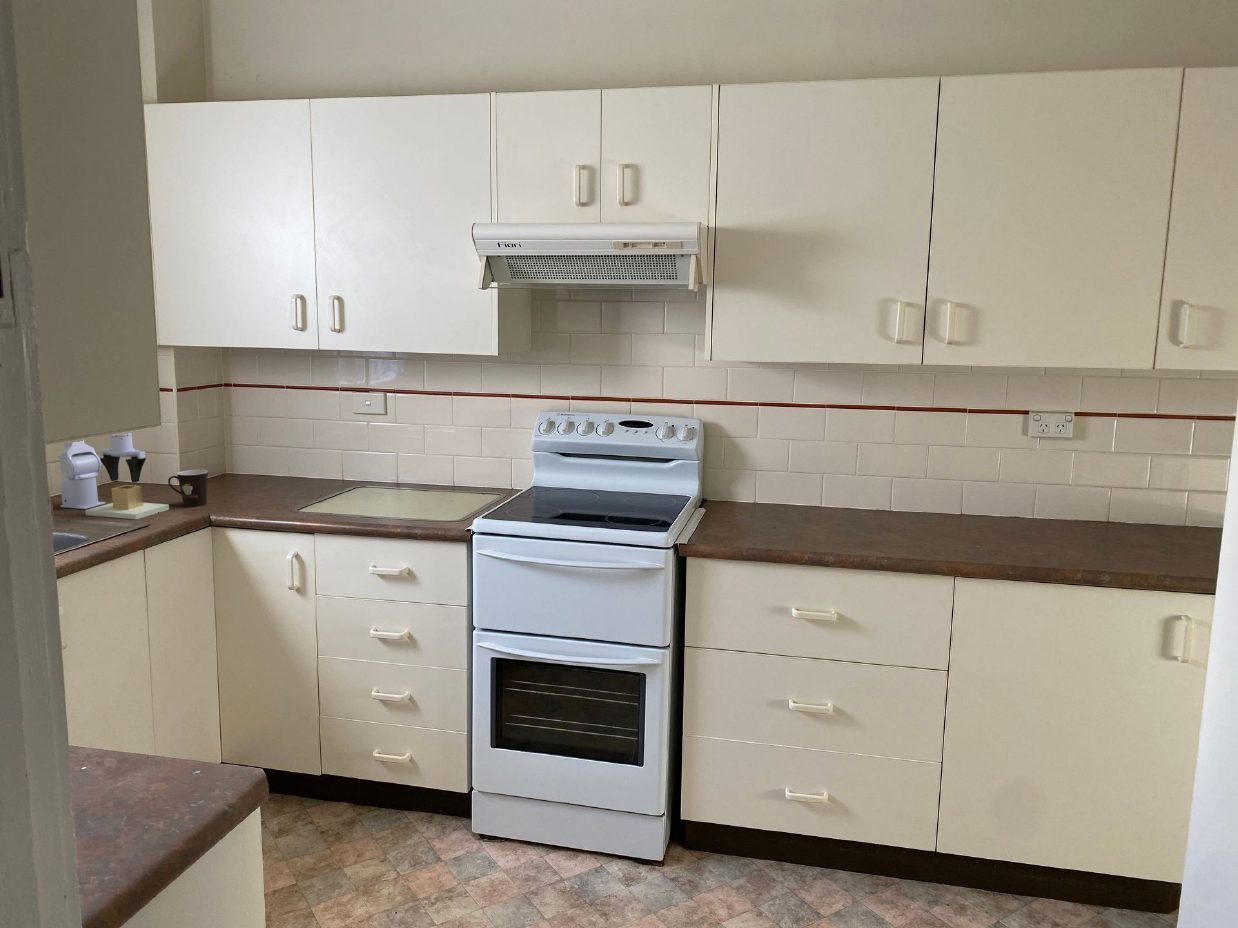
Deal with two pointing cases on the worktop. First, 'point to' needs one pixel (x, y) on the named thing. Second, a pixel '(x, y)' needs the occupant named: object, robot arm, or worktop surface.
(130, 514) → the post stand
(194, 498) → the coffee mug
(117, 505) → the brass collar
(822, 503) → the worktop surface
